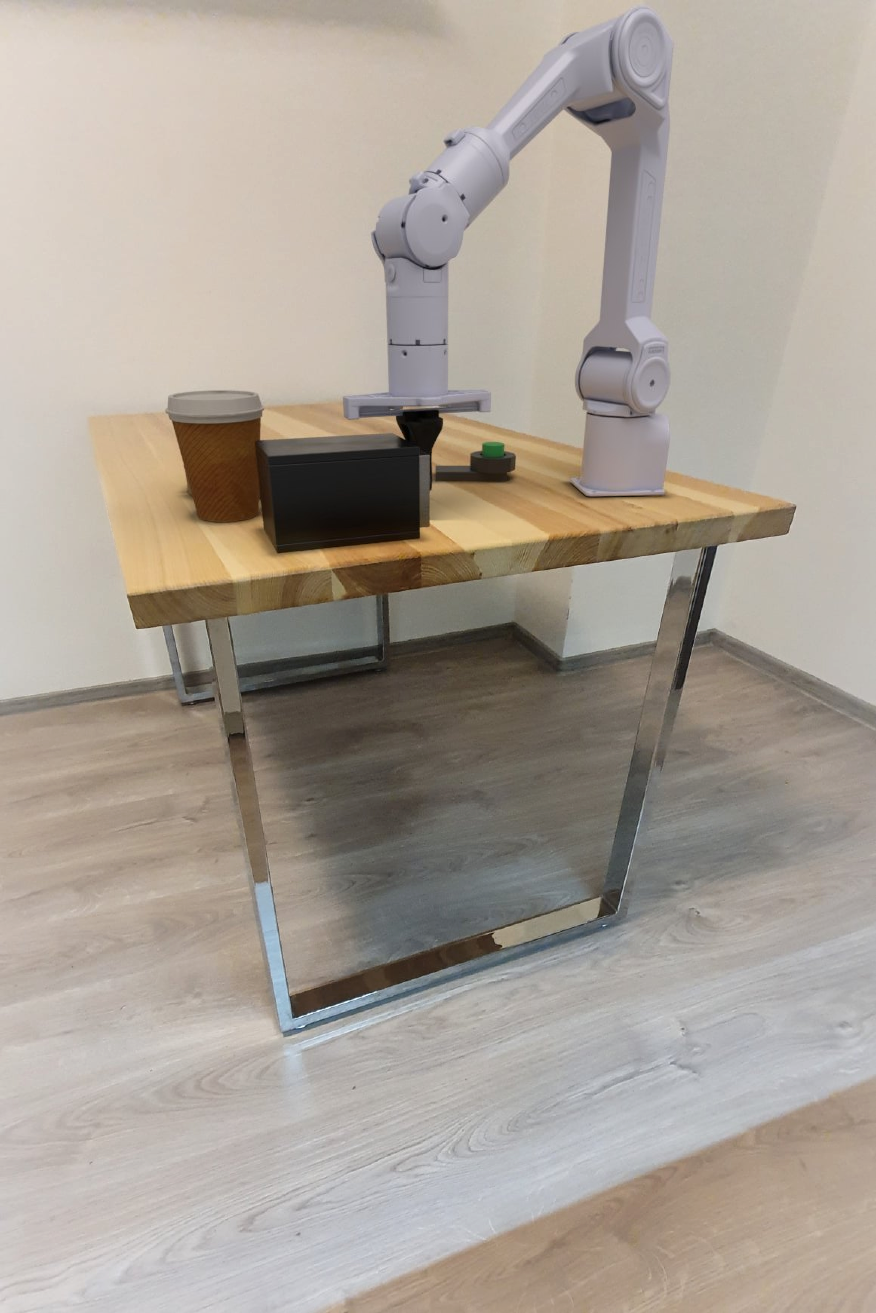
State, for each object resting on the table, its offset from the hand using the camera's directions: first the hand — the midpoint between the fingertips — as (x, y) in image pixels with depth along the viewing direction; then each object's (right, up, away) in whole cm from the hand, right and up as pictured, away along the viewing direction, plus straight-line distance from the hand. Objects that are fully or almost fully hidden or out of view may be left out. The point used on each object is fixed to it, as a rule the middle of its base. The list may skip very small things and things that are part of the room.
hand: (419, 489), depth 74 cm
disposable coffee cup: (-20, -2, +3) cm, 21 cm away
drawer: (-5, -4, -3) cm, 7 cm away
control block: (+6, +6, +19) cm, 21 cm away
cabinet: (-8, -5, -3) cm, 10 cm away
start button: (+9, +8, +18) cm, 22 cm away
